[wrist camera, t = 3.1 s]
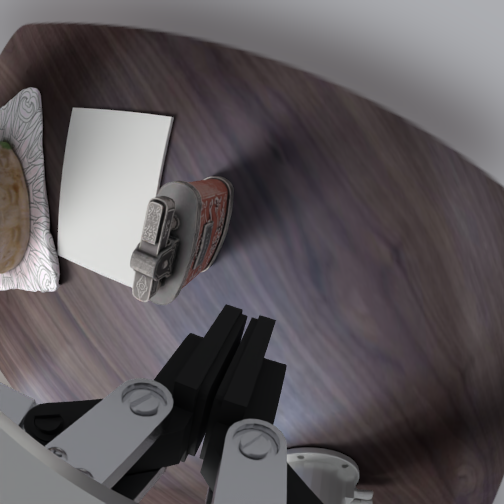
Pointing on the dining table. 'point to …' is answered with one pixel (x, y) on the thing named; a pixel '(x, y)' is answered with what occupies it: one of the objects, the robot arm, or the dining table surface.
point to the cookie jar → (25, 199)
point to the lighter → (180, 236)
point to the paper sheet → (109, 186)
